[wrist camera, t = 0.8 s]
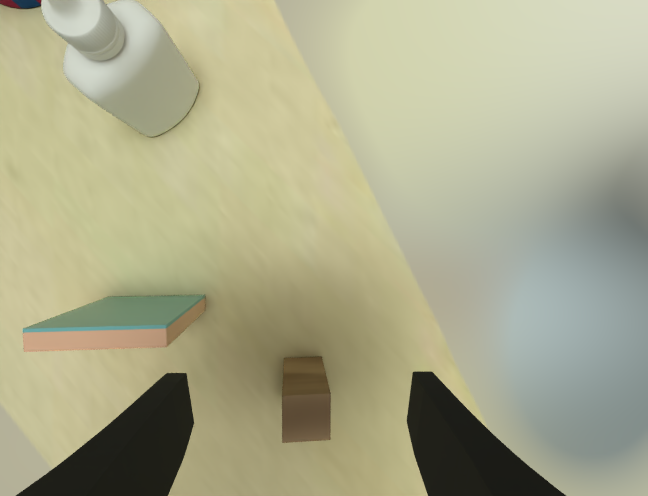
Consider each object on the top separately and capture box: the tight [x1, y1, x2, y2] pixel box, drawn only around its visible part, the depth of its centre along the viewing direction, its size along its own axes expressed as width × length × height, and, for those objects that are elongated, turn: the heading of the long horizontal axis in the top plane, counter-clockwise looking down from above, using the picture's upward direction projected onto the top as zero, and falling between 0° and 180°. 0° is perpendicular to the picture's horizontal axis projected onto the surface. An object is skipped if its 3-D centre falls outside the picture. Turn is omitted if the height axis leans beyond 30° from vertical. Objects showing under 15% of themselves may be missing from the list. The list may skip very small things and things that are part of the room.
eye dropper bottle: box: [41, 0, 199, 137], centre depth 18 cm, size 4×6×12 cm
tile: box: [23, 295, 205, 352], centre depth 21 cm, size 1×7×8 cm, turn 90°
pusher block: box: [282, 357, 331, 443], centre depth 24 cm, size 3×3×6 cm
